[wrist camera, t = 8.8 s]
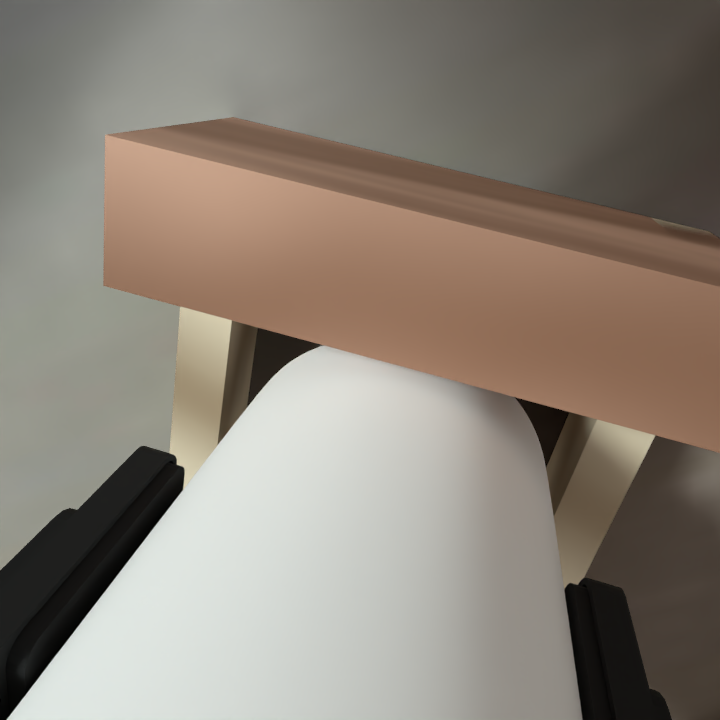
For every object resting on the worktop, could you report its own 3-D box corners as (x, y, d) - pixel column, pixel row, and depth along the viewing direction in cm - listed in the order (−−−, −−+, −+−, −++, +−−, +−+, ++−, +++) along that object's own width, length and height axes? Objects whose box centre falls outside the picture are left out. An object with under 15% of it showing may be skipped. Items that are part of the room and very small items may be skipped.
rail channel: (233, 117, 13) (105, 134, 9) (709, 231, 13) (828, 314, 8) (169, 755, 24) (96, 908, 20) (424, 842, 23) (408, 1024, 19)
